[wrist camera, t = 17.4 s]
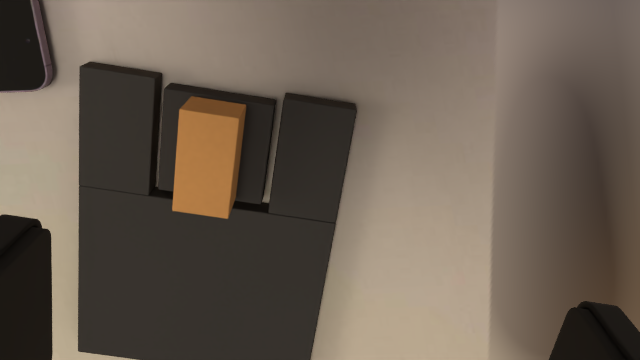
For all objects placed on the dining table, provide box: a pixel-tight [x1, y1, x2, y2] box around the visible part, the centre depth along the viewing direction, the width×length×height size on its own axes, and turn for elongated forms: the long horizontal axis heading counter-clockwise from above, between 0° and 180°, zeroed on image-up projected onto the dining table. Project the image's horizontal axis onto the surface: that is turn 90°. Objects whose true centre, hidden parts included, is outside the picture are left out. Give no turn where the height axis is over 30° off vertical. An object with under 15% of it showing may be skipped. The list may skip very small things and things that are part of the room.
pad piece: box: [158, 83, 276, 219], centre depth 34 cm, size 6×6×4 cm
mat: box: [78, 62, 357, 360], centre depth 37 cm, size 20×16×2 cm
